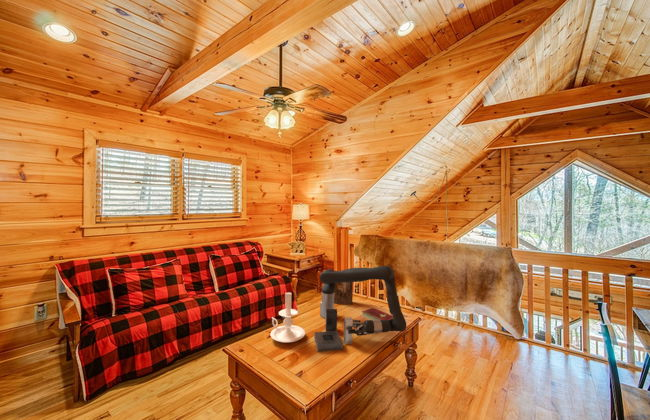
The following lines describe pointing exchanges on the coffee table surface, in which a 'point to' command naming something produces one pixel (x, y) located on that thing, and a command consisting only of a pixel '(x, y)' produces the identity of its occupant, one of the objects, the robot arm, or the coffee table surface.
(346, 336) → the square bit
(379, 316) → the hardcover book
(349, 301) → the book
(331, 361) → the coffee table surface
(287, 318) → the candlestick
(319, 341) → the bore plate
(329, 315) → the block
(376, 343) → the coffee table surface
